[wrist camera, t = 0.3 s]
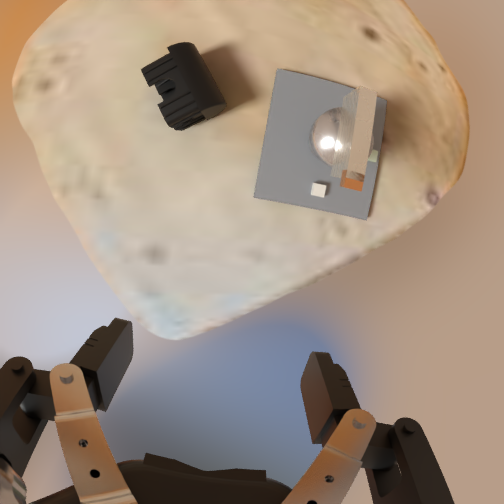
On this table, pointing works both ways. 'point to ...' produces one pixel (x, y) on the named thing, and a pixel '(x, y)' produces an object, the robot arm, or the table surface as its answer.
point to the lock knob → (346, 137)
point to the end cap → (184, 87)
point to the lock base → (296, 155)
